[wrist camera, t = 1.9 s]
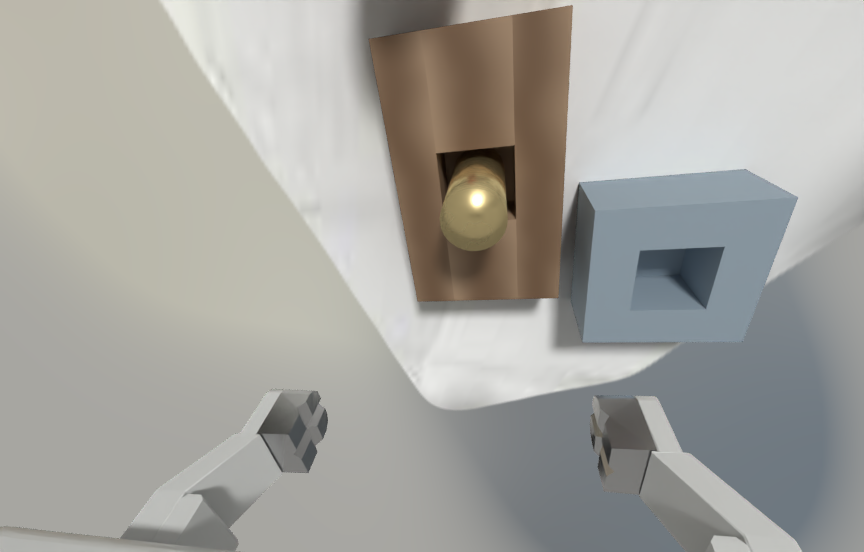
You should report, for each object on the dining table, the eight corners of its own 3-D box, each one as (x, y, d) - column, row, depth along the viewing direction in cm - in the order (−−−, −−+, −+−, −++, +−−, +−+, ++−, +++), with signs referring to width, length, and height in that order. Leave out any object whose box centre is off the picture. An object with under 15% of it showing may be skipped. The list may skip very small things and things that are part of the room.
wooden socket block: (560, 10, 25) (572, 5, 21) (551, 267, 36) (558, 298, 31) (387, 38, 28) (368, 38, 23) (426, 272, 38) (417, 301, 34)
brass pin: (503, 143, 29) (506, 185, 21) (505, 192, 31) (508, 249, 23) (452, 148, 30) (435, 191, 22) (457, 196, 32) (443, 252, 24)
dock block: (745, 169, 29) (798, 197, 24) (707, 297, 35) (742, 341, 30) (579, 182, 31) (595, 210, 26) (570, 301, 37) (582, 342, 32)
